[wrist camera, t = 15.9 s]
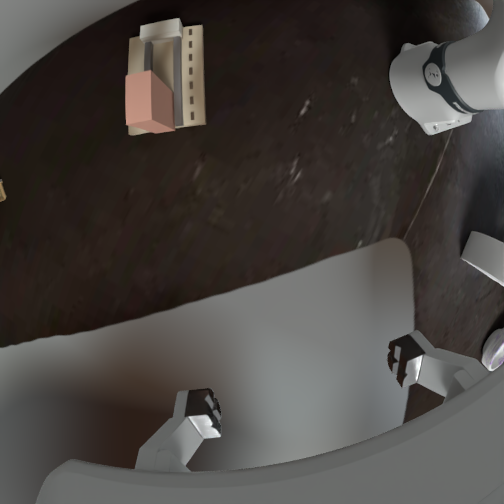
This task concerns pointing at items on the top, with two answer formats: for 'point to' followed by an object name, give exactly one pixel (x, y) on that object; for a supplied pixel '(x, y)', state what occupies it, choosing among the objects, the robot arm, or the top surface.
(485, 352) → the paper bowls
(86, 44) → the top surface
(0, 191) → the staircase
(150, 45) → the slotted tan base plate
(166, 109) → the tall salmon pink pillar
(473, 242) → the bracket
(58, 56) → the top surface
